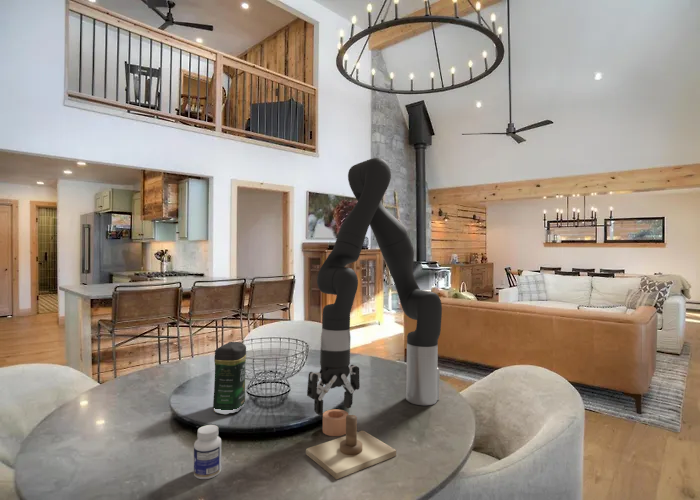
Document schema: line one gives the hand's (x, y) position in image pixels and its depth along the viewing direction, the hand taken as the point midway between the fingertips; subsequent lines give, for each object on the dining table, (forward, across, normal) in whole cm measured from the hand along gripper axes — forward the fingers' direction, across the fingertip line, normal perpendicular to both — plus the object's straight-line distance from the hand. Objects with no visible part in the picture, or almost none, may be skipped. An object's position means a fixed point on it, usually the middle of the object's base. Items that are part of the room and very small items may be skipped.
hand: (333, 410), depth 101 cm
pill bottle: (+6, +32, +2) cm, 32 cm away
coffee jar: (+6, +17, -28) cm, 33 cm away
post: (+4, +3, +12) cm, 13 cm away
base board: (+5, +3, +12) cm, 14 cm away
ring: (+5, 0, 0) cm, 5 cm away
